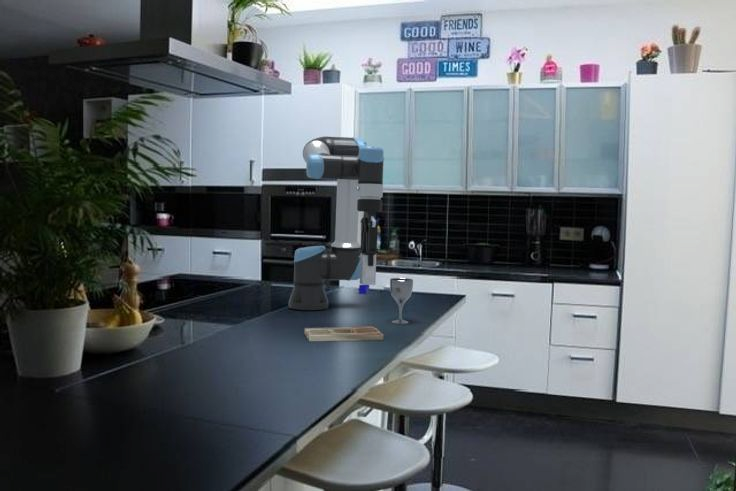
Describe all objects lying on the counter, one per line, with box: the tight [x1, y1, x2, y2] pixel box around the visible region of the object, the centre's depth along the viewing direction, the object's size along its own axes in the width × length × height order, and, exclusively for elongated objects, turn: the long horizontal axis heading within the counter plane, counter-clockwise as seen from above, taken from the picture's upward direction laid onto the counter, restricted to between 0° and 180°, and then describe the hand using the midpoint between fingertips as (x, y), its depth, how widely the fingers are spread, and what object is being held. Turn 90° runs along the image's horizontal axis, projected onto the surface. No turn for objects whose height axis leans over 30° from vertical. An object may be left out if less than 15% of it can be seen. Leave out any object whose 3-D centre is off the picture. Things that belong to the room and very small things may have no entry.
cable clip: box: [358, 284, 370, 295], centre depth 277 cm, size 12×4×6 cm, turn 173°
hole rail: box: [304, 326, 384, 342], centre depth 188 cm, size 12×22×2 cm, turn 103°
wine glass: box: [389, 277, 414, 325], centre depth 214 cm, size 8×8×15 cm
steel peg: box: [359, 254, 377, 286], centre depth 188 cm, size 4×4×9 cm
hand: (367, 275), depth 188 cm, fingers closed on steel peg, 4 cm apart
